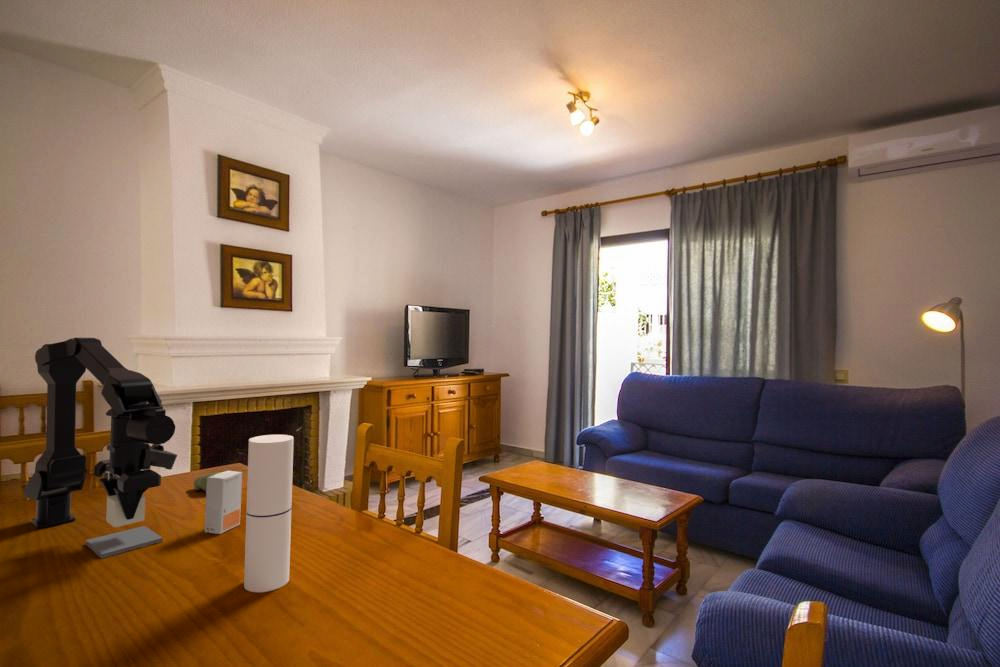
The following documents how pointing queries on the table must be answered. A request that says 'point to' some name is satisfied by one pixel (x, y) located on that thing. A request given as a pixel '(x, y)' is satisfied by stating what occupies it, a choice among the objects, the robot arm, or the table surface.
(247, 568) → the cylindrical container
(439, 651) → the table surface
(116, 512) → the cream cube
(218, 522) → the skincare box
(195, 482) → the pear
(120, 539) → the mat
